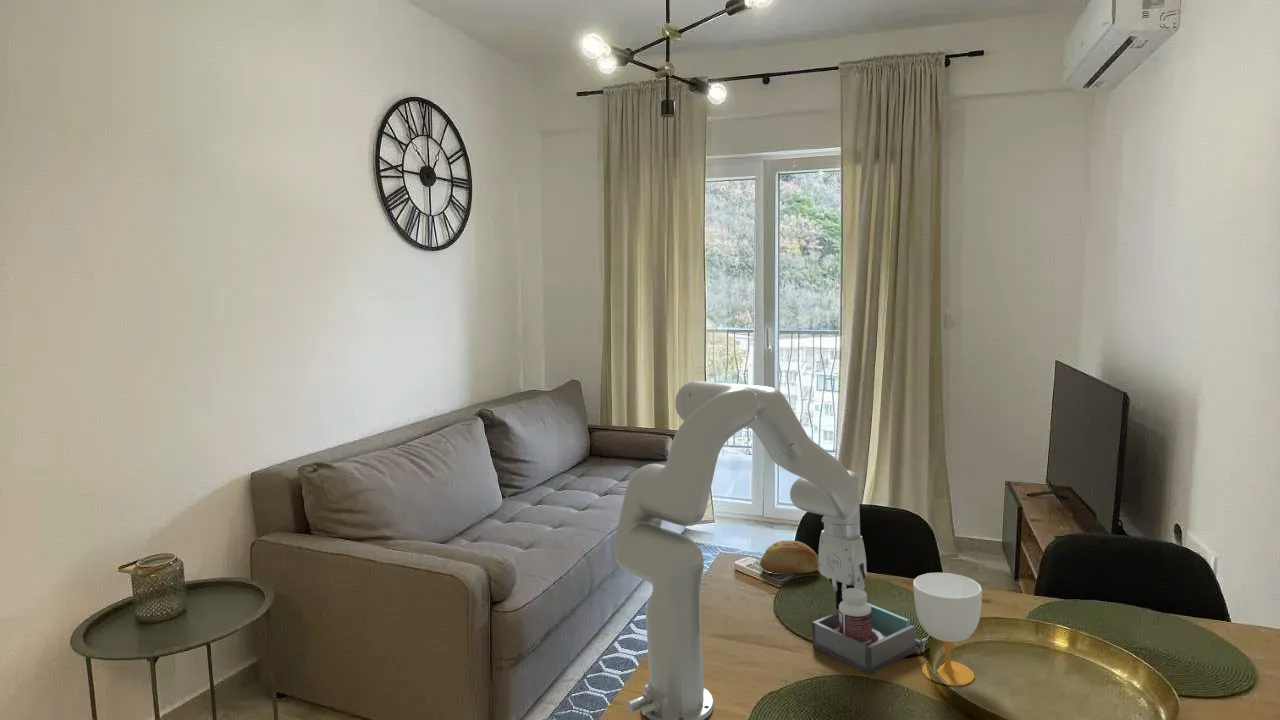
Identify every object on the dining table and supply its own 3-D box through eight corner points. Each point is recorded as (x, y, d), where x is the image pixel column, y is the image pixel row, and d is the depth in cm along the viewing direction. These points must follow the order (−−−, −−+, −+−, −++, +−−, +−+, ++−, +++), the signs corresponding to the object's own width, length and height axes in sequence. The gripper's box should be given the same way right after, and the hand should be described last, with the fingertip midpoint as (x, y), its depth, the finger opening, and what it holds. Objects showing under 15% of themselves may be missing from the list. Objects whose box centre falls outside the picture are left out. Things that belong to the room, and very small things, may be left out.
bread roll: (824, 579, 182) (823, 547, 182) (763, 581, 183) (761, 550, 182) (816, 564, 192) (815, 534, 191) (758, 566, 193) (757, 536, 192)
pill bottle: (879, 647, 145) (878, 593, 144) (858, 657, 142) (856, 602, 141) (854, 635, 151) (852, 583, 149) (833, 645, 147) (831, 592, 146)
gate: (906, 645, 148) (905, 615, 147) (850, 620, 160) (850, 592, 159) (910, 643, 149) (909, 613, 148) (854, 618, 160) (854, 591, 160)
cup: (941, 696, 130) (940, 603, 128) (901, 664, 141) (899, 578, 139) (997, 683, 133) (997, 592, 131) (953, 652, 144) (952, 568, 142)
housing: (874, 677, 137) (873, 651, 136) (809, 644, 150) (808, 620, 150) (930, 648, 146) (930, 623, 146) (864, 620, 160) (864, 597, 159)
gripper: (804, 523, 164) (806, 602, 166) (858, 540, 152) (860, 626, 154) (827, 515, 168) (829, 593, 170) (881, 532, 156) (883, 615, 158)
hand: (844, 608), depth 162 cm, fingers closed
